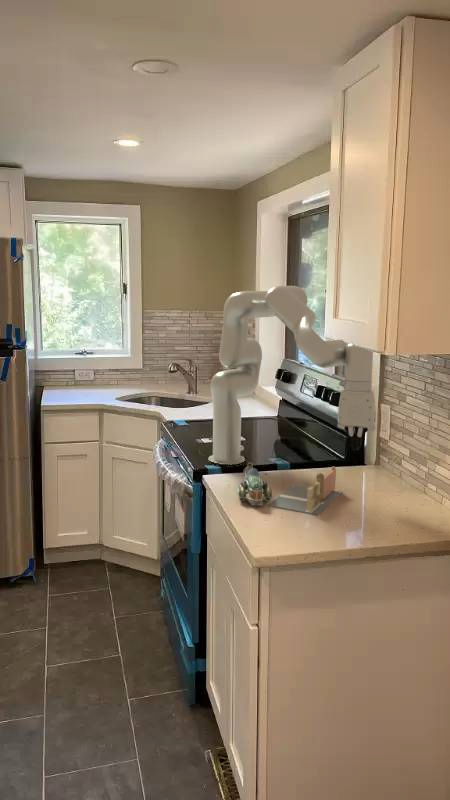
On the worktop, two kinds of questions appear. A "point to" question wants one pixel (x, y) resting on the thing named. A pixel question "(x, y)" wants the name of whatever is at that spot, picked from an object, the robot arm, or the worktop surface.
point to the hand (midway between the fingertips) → (355, 449)
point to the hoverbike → (254, 487)
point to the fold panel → (329, 482)
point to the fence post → (315, 492)
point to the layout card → (301, 500)
